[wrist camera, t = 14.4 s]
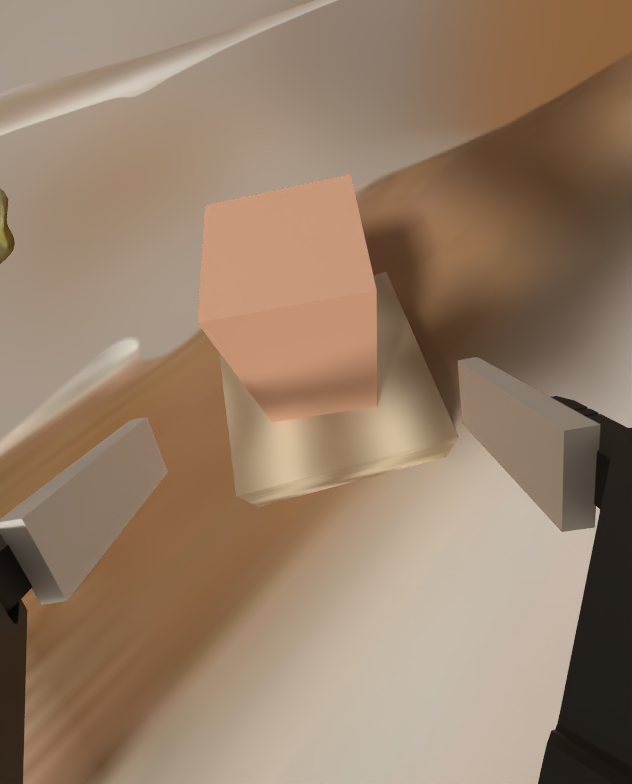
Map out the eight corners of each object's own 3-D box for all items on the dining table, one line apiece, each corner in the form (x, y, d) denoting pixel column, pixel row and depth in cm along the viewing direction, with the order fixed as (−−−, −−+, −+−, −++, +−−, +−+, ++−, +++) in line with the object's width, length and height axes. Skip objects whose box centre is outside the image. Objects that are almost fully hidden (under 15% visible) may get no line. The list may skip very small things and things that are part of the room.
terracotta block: (360, 320, 26) (350, 174, 16) (377, 406, 23) (376, 290, 13) (268, 336, 27) (205, 205, 17) (271, 422, 24) (197, 322, 14)
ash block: (385, 311, 32) (386, 271, 28) (444, 458, 26) (458, 436, 21) (237, 354, 33) (215, 321, 28) (260, 507, 26) (236, 496, 22)
